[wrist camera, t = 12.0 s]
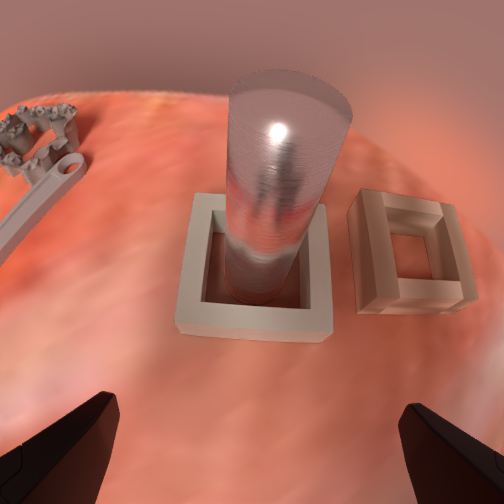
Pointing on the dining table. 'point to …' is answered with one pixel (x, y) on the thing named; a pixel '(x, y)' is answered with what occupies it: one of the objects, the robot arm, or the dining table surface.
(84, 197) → the dining table surface
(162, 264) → the dining table surface
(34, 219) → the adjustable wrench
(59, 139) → the grey jagged open ring
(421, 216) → the beige square ring
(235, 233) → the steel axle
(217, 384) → the dining table surface
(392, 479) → the dining table surface
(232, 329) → the square hollow frame
